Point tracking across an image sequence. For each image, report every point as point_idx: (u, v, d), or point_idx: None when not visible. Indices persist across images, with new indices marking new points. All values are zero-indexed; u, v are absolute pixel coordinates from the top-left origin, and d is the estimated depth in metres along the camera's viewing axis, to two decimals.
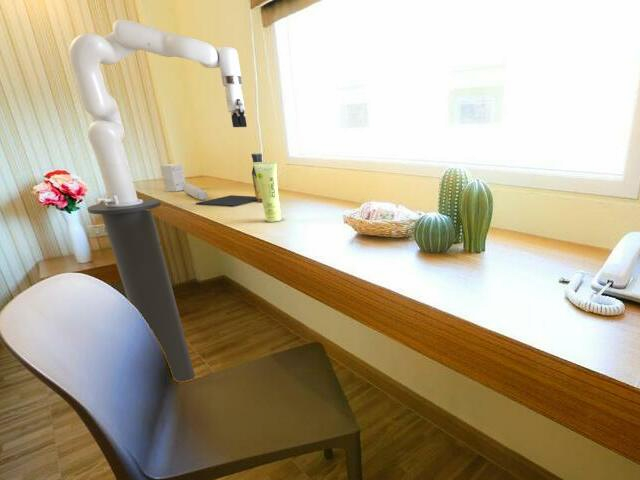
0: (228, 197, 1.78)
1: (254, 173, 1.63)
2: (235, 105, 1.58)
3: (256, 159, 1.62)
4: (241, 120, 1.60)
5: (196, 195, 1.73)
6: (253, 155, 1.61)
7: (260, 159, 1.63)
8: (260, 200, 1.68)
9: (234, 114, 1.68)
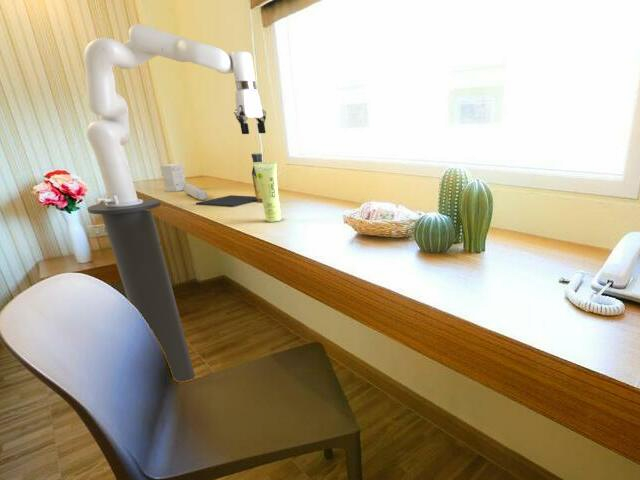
0: (228, 197, 1.78)
1: (254, 173, 1.63)
2: None
3: (255, 159, 1.62)
4: (242, 127, 1.54)
5: (196, 195, 1.73)
6: (253, 155, 1.61)
7: (260, 159, 1.63)
8: (260, 200, 1.68)
9: (260, 120, 1.63)
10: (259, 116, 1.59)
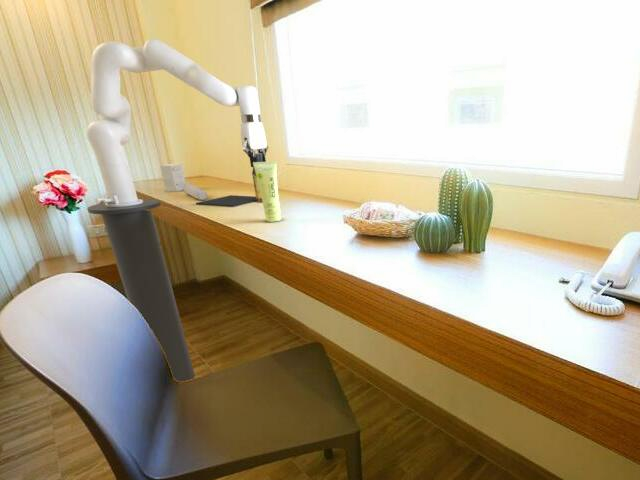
0: (228, 197, 1.78)
1: (254, 173, 1.63)
2: (243, 143, 1.58)
3: None
4: (251, 161, 1.61)
5: (196, 195, 1.73)
6: None
7: (260, 159, 1.63)
8: (260, 200, 1.68)
9: None
10: (263, 147, 1.64)
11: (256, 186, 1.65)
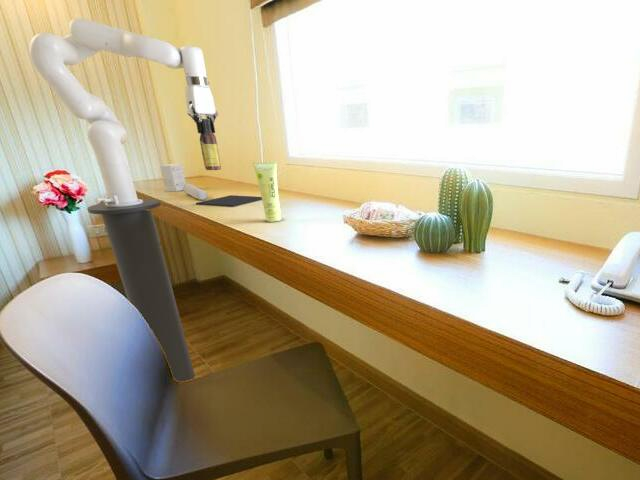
0: (228, 197, 1.78)
1: (201, 139, 1.57)
2: (188, 107, 1.52)
3: None
4: (197, 126, 1.55)
5: (196, 195, 1.73)
6: None
7: (208, 124, 1.57)
8: (208, 168, 1.61)
9: (210, 119, 1.60)
10: (211, 112, 1.58)
11: (204, 153, 1.59)
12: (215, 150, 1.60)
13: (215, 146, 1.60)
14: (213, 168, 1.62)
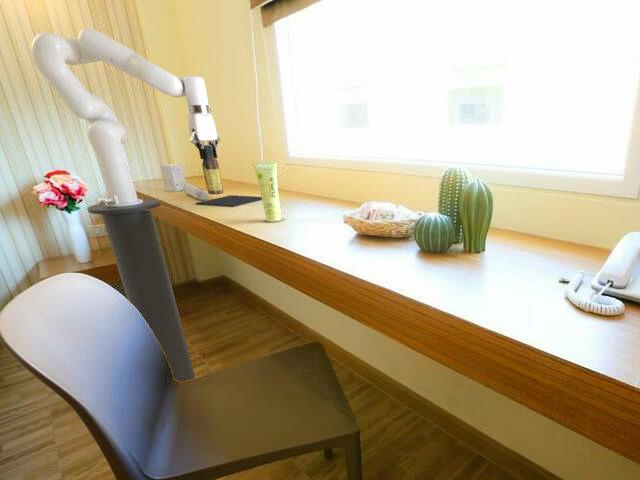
0: (228, 197, 1.78)
1: (204, 165, 1.61)
2: (191, 135, 1.55)
3: None
4: (200, 152, 1.59)
5: (196, 195, 1.73)
6: None
7: (210, 150, 1.61)
8: (211, 192, 1.65)
9: (212, 145, 1.64)
10: (213, 138, 1.61)
11: (206, 178, 1.63)
12: (217, 175, 1.64)
13: (217, 171, 1.64)
14: (216, 192, 1.65)
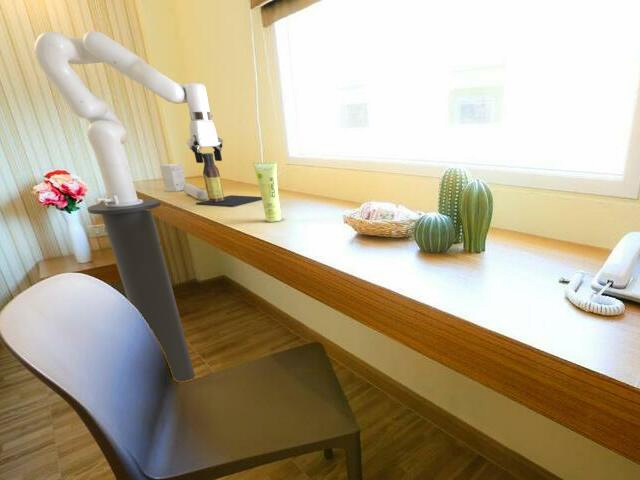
0: (228, 197, 1.78)
1: (205, 173, 1.62)
2: (192, 141, 1.56)
3: (206, 159, 1.60)
4: (196, 156, 1.57)
5: (196, 195, 1.73)
6: (203, 155, 1.60)
7: (211, 159, 1.61)
8: (212, 200, 1.66)
9: (216, 148, 1.66)
10: (214, 145, 1.62)
11: (207, 186, 1.64)
12: (218, 183, 1.65)
13: (218, 179, 1.65)
14: (217, 200, 1.67)
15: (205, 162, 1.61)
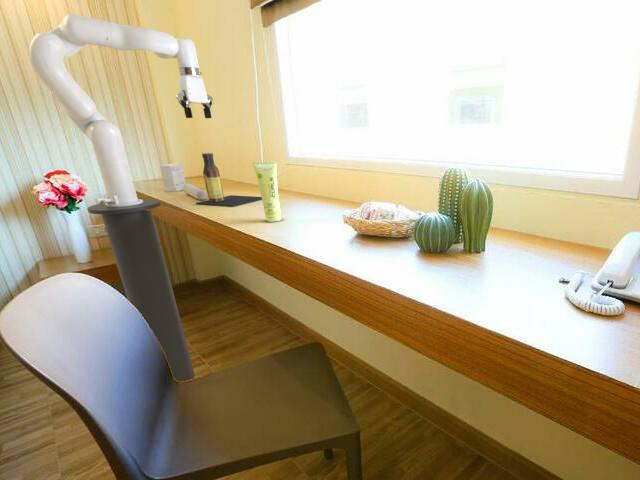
0: (228, 197, 1.78)
1: (205, 173, 1.62)
2: (181, 96, 1.61)
3: (206, 159, 1.60)
4: (185, 111, 1.62)
5: (196, 195, 1.73)
6: (203, 155, 1.60)
7: (211, 159, 1.61)
8: (212, 200, 1.66)
9: (206, 105, 1.71)
10: (204, 101, 1.67)
11: (207, 186, 1.64)
12: (218, 183, 1.65)
13: (218, 179, 1.65)
14: (217, 200, 1.67)
15: (205, 162, 1.61)
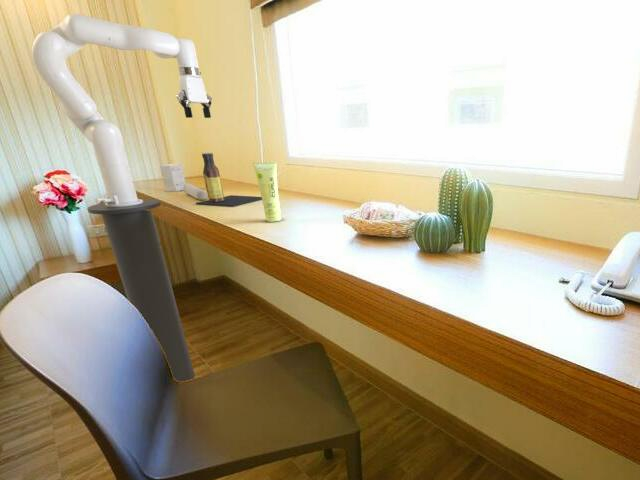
0: (228, 197, 1.78)
1: (205, 173, 1.62)
2: (181, 96, 1.63)
3: (206, 159, 1.60)
4: (185, 111, 1.64)
5: (196, 195, 1.73)
6: (203, 155, 1.60)
7: (211, 159, 1.61)
8: (212, 200, 1.66)
9: (205, 105, 1.72)
10: (203, 101, 1.69)
11: (207, 186, 1.64)
12: (218, 183, 1.65)
13: (218, 179, 1.65)
14: (217, 200, 1.67)
15: (205, 162, 1.61)
